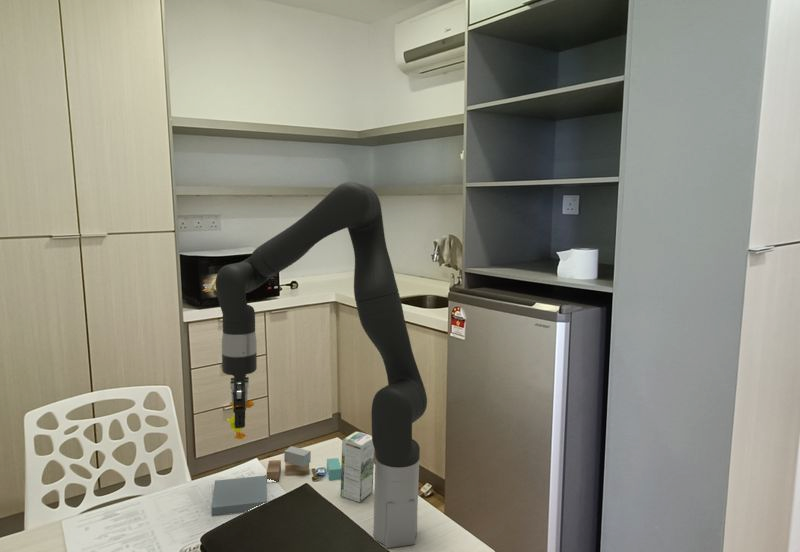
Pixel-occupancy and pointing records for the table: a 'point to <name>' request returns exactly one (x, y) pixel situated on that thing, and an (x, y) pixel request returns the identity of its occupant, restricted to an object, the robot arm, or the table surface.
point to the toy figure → (232, 420)
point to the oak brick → (295, 469)
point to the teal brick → (334, 469)
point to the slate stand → (238, 495)
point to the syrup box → (357, 466)
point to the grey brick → (297, 456)
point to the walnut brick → (274, 470)
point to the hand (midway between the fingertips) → (240, 423)
